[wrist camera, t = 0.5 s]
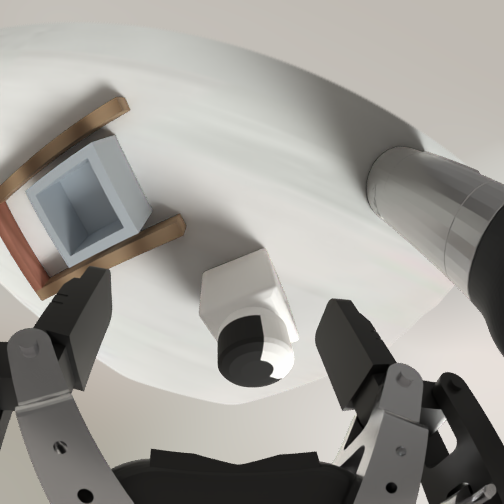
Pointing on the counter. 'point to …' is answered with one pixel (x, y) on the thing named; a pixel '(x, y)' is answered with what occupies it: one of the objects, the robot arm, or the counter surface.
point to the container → (249, 320)
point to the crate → (90, 201)
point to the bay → (152, 237)
